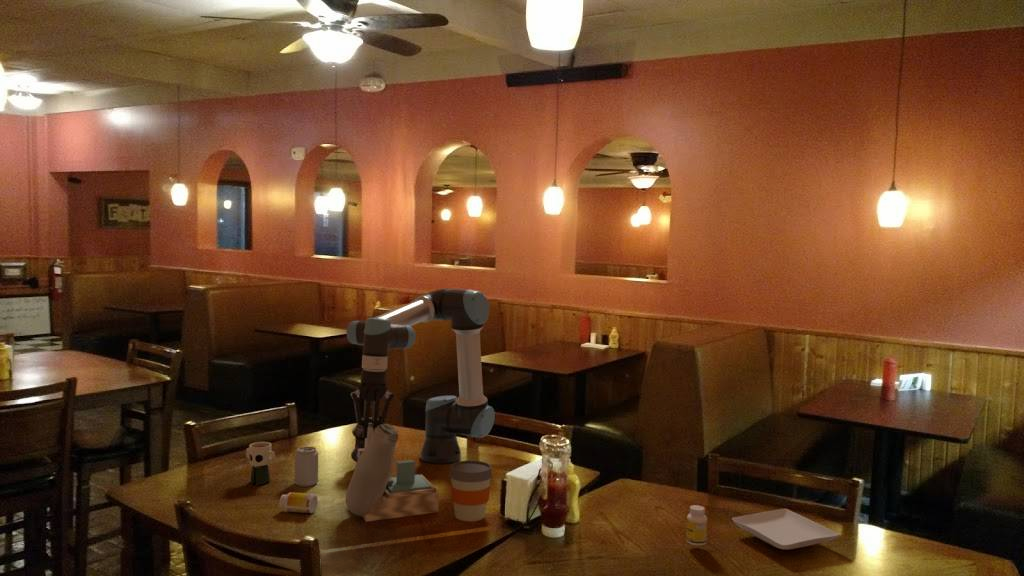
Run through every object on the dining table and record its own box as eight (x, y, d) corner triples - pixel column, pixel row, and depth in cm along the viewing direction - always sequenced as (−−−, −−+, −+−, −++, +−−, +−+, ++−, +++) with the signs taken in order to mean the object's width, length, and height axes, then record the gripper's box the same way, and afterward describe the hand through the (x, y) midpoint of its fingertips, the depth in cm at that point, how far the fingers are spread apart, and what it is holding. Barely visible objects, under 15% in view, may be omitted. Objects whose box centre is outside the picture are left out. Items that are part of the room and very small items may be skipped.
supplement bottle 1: (317, 490, 222) (284, 487, 223) (310, 501, 217) (276, 498, 218) (319, 505, 224) (286, 503, 225) (312, 517, 219) (279, 514, 220)
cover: (418, 479, 235) (419, 454, 235) (430, 491, 224) (430, 465, 224) (381, 483, 230) (381, 458, 230) (391, 495, 219) (391, 469, 219)
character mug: (239, 484, 244) (239, 445, 243) (253, 478, 251) (253, 440, 250) (267, 488, 241) (267, 449, 240) (280, 481, 247) (280, 443, 247)
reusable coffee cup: (459, 526, 213) (460, 475, 212) (442, 511, 224) (443, 463, 223) (498, 519, 219) (499, 469, 218) (480, 505, 230) (481, 458, 229)
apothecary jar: (391, 472, 260) (392, 421, 259) (359, 477, 254) (359, 426, 252) (377, 463, 270) (377, 414, 269) (345, 468, 264) (346, 418, 262)
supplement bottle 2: (683, 538, 208) (684, 504, 208) (702, 538, 209) (703, 504, 208) (689, 546, 203) (691, 511, 202) (708, 545, 204) (710, 511, 203)
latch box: (422, 494, 238) (422, 473, 238) (438, 512, 224) (438, 489, 223) (354, 503, 229) (354, 481, 229) (365, 521, 215) (365, 497, 214)
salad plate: (782, 556, 198) (782, 544, 198) (729, 528, 218) (729, 516, 218) (840, 545, 207) (841, 533, 207) (785, 518, 226) (785, 507, 226)
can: (321, 481, 249) (321, 446, 248) (313, 488, 242) (313, 452, 241) (299, 479, 250) (300, 444, 249) (291, 487, 242) (291, 451, 242)
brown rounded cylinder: (379, 515, 221) (412, 431, 218) (360, 525, 212) (394, 437, 208) (353, 499, 225) (385, 416, 221) (334, 508, 215) (366, 421, 212)
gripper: (354, 370, 215) (348, 452, 215) (398, 372, 220) (392, 451, 220) (349, 367, 222) (343, 446, 222) (392, 368, 227) (386, 445, 227)
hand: (368, 448), depth 221 cm, fingers closed
